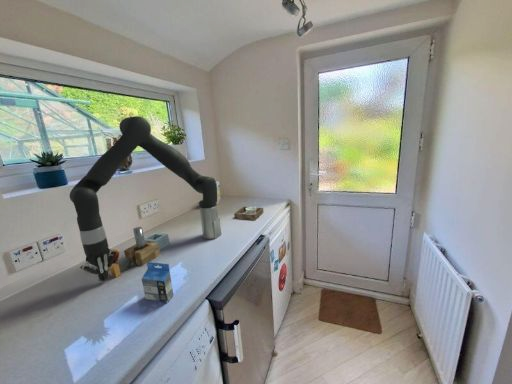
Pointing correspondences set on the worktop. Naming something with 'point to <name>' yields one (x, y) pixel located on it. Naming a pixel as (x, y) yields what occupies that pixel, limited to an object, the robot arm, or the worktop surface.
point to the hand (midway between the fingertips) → (104, 279)
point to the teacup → (250, 210)
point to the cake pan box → (218, 192)
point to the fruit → (115, 256)
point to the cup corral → (248, 216)
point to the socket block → (142, 253)
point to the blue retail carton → (157, 282)
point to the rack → (158, 239)
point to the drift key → (120, 267)
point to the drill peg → (139, 238)
